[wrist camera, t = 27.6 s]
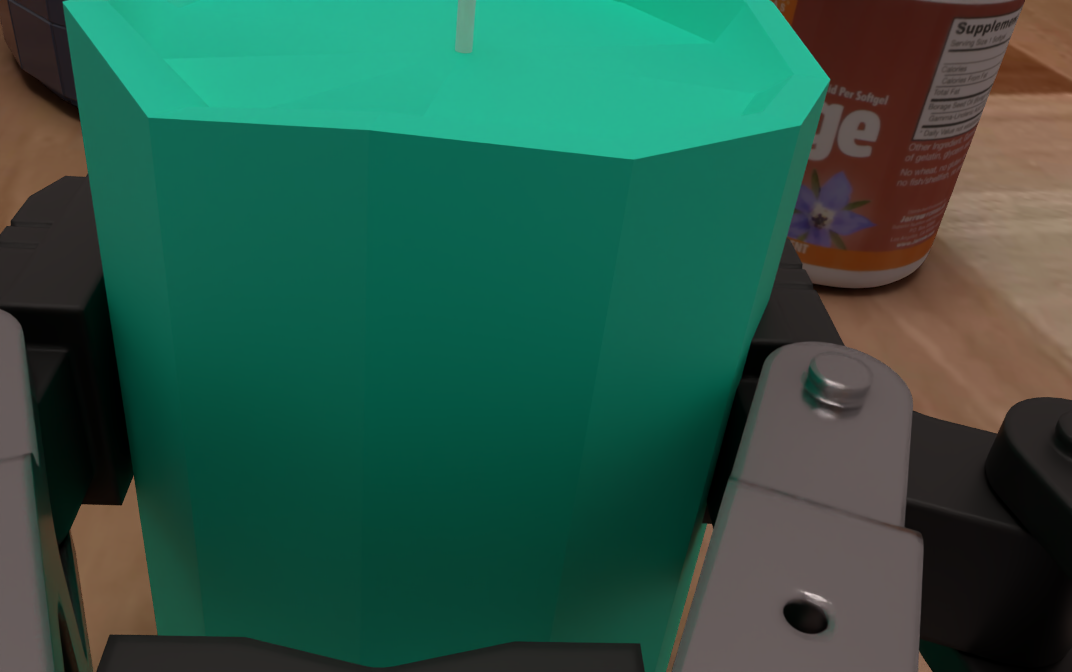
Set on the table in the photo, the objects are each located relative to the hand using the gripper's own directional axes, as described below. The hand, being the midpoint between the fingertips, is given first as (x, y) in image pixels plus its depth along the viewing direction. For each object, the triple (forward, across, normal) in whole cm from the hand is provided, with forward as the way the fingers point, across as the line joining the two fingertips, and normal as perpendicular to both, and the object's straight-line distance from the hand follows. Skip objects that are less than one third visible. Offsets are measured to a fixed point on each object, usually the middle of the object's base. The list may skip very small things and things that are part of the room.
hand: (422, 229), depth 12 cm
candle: (-3, 0, +7) cm, 8 cm away
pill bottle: (+13, -10, +7) cm, 18 cm away
